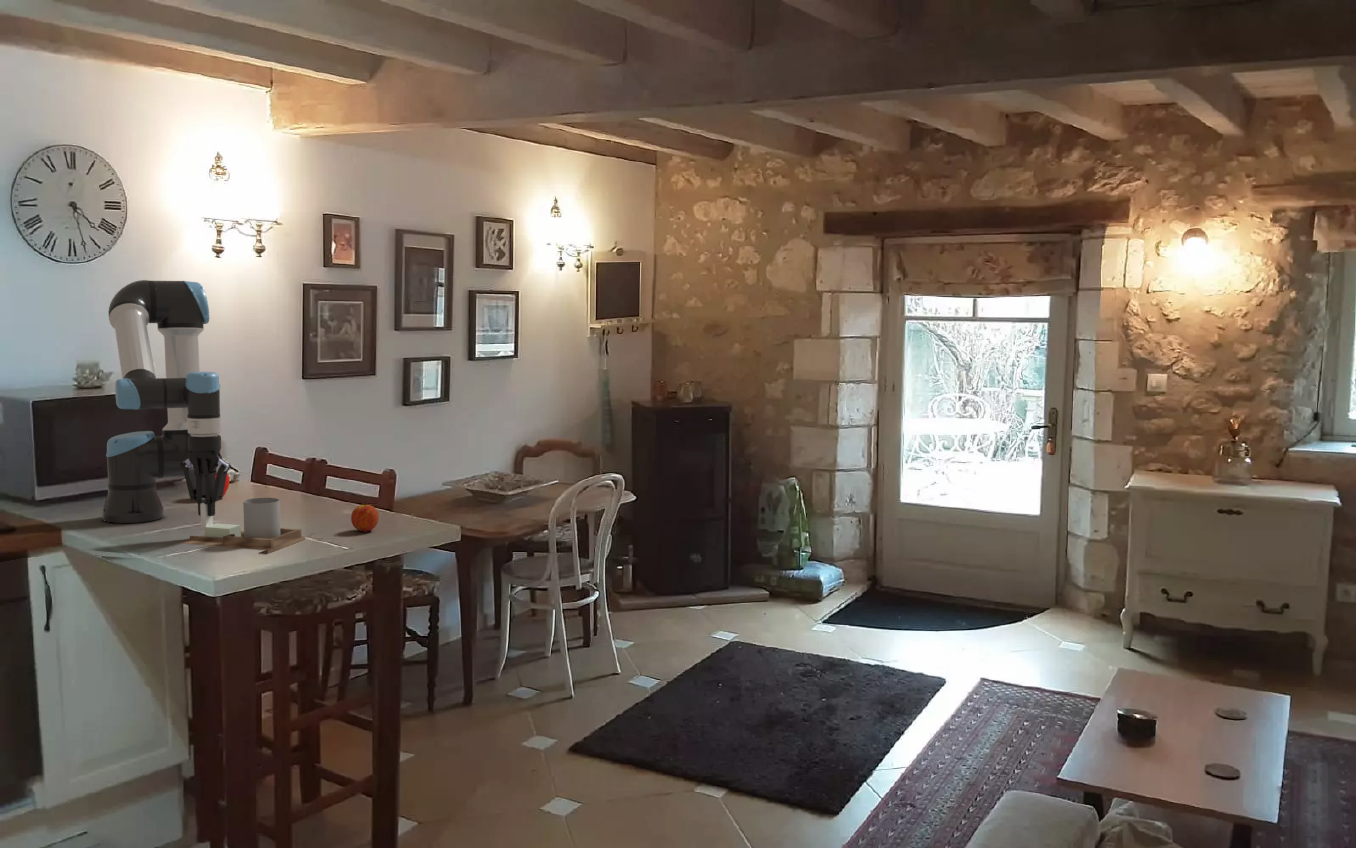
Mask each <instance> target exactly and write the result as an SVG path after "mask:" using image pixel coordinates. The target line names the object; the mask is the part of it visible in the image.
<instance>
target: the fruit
mask: <svg viewBox="0 0 1356 848" xmlns="http://www.w3.org/2000/svg"><path fill="white" fill-rule="evenodd" d="M366 503H367V502H366V500H365V501H364V504H360V505H358V506H356V507H355V508H354V509H353V511H352V512H351V516H350V521H351V524H352V526H353V527H354V528H355V529H356V530H358V531H359V532H361V531H363V532H364V533H367V532H370V531H373V530H374V529H375V528H376V527H377V525H378V523H379V521H380V520H379V517H380V516H379V513H378V510H377V509H376V508H375V506H373V505H370V504H366ZM363 532H362V533H363Z"/></svg>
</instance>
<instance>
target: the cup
mask: <svg viewBox="0 0 1356 848" xmlns="http://www.w3.org/2000/svg"><path fill="white" fill-rule="evenodd" d="M280 503H281V501H280V498H275V497H255V498H254V497H253V498H248V499H245V500H243V506H242V507H243V532H244V537H250V538H263V539H271V538H274V537H277V536H280V528H281V504H280Z"/></svg>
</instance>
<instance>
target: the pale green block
mask: <svg viewBox="0 0 1356 848" xmlns="http://www.w3.org/2000/svg"><path fill="white" fill-rule="evenodd" d="M203 531H204V532H203V533H204V535H205V537H215V538H223V536H226V535H229V534H235V536H236V537H241V531H242V527H241V525H240V524H229V523H217V522H216V523H213V525H209V526H206V527H204V530H203Z"/></svg>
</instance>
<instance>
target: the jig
mask: <svg viewBox="0 0 1356 848" xmlns="http://www.w3.org/2000/svg"><path fill="white" fill-rule="evenodd" d="M305 540H306V537H305V535H302V528H287V527H280V536H277V537H274V538H271V539H263V538H250V537H244V530H243V531H242V530H241V537H236V536H235V534H229V535H226V536H223V538H215V537H205V534H203V535H199V536H198V535H190V536H189V539H188V540H185V541H182V542H180V544H186V545H199V546H200V545H201V546H212V547H225V548H239V549H250V550H251V549H253V550H262V551H260V552H258V554H265V555H267V554H271V553H274V552H276V551H279V550H281V549H284V548H287V547H290V546H292V545H294V544H298V543H300V542H303V541H305Z"/></svg>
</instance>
